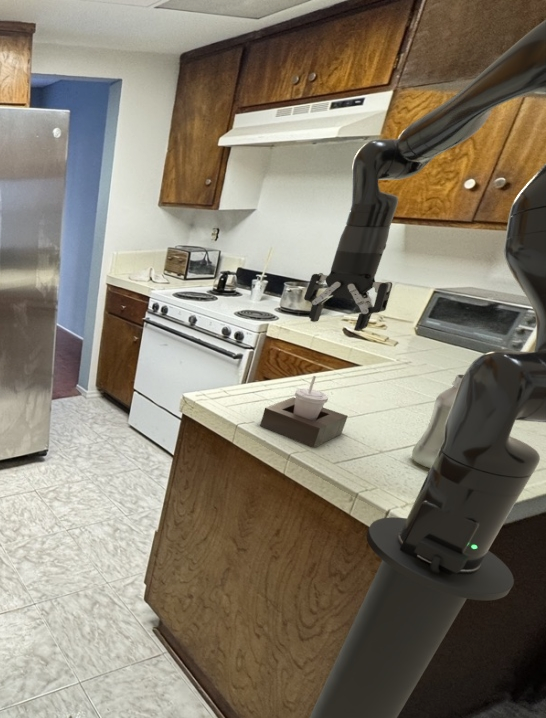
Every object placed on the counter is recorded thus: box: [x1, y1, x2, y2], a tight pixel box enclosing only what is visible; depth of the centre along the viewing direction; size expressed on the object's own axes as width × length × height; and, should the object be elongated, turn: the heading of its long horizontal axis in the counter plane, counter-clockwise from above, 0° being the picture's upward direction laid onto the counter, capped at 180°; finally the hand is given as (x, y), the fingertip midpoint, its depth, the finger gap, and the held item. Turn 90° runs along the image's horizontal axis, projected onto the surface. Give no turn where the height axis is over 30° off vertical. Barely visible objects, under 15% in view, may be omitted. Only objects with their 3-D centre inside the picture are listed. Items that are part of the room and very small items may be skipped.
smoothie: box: [293, 375, 329, 421], centre depth 111 cm, size 6×6×14 cm
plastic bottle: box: [411, 374, 464, 469], centre depth 95 cm, size 6×7×20 cm
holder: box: [259, 396, 349, 448], centre depth 112 cm, size 12×12×5 cm
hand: (335, 325), depth 102 cm, fingers open, 8 cm apart
